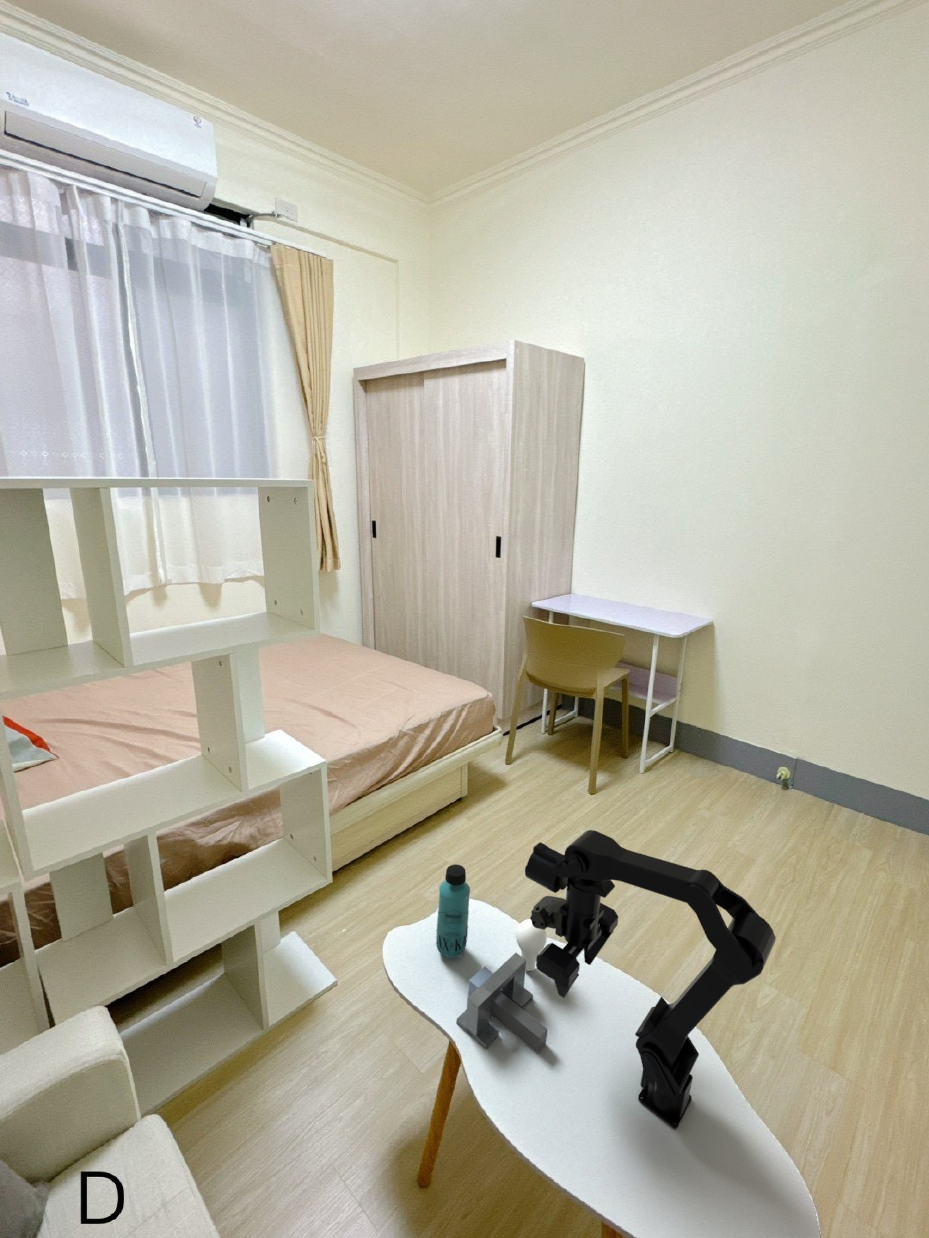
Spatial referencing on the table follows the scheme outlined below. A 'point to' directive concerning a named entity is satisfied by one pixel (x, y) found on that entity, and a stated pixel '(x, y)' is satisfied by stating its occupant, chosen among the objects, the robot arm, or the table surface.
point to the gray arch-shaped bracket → (479, 1001)
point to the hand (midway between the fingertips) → (575, 978)
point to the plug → (512, 1015)
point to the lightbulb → (530, 942)
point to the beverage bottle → (453, 912)
